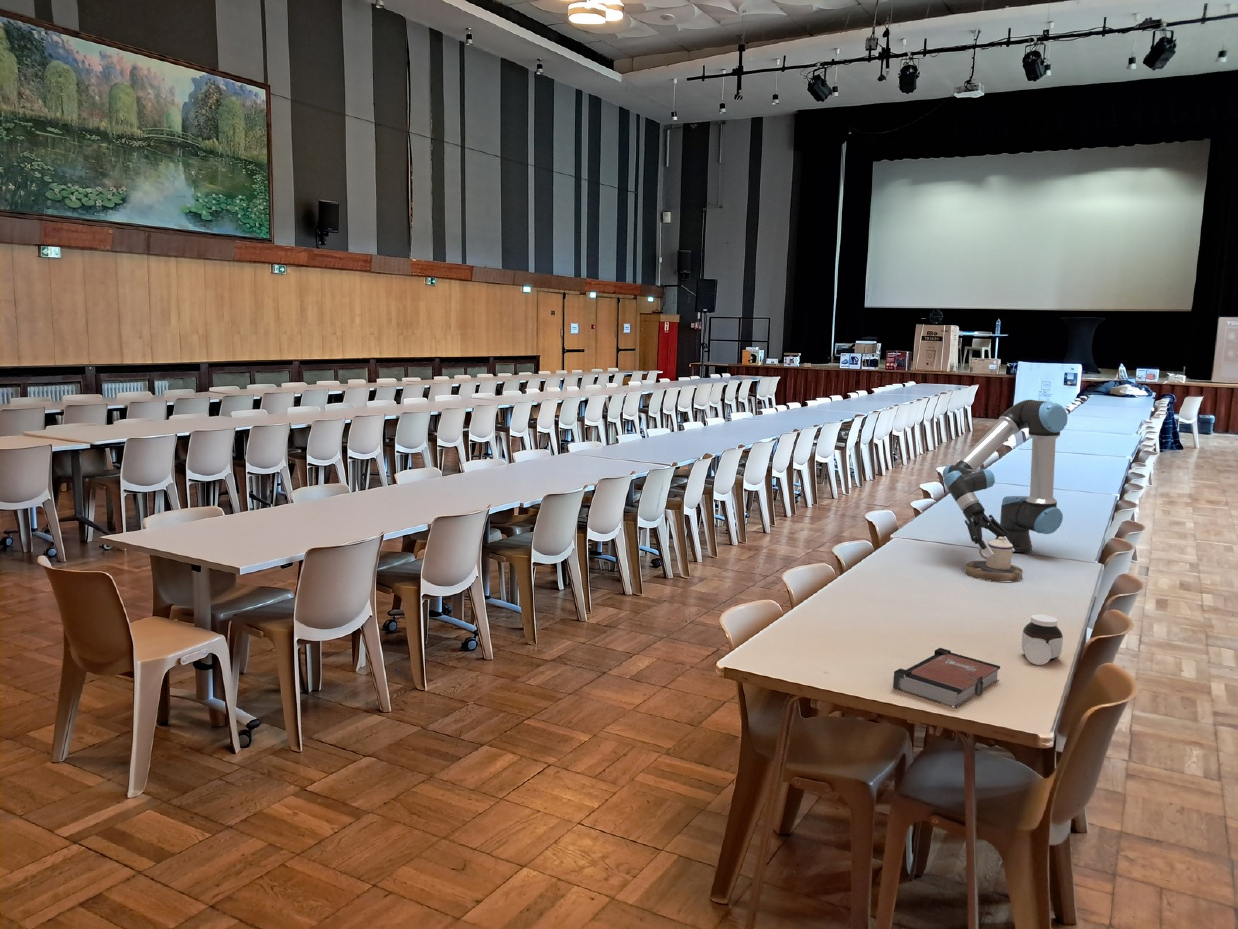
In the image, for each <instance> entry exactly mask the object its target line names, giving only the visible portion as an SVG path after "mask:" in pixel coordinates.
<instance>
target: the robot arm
mask: <svg viewBox="0 0 1238 929" xmlns="http://www.w3.org/2000/svg"><path fill="white" fill-rule="evenodd" d="M1067 425H1068V413H1067V411H1066V409H1065V408H1064V407H1063V405H1062V404H1059V403H1057V402H1052V401H1047V400H1045V401H1044V400H1035V399H1024V400H1022V401H1019V402H1017V403H1015V404H1014V405H1012V406H1011V407H1008V408H1007V410H1006V411H1004V412H1003V414H1001V415H1000V416H999V417H998V422H997V423H995V425H993V426H992V427H991V429H990V430H988V432H986V433H985V434H984V436H983V437H982V438H980V440H978V441H977V442H976V444H974V446H973V447H971V449H969V450H968V451H967V453H966V454H964V455H963V456H962V457H961V458H960V459H959V461H957V463H955V464H948V465H946V466H945V467H944V468H943V471H942V478H943V483H944V486H945V488H946V489H947V491H948V492H949V493H950V495H951V497H952V498H953V500H954V501H955V503H956V504H957V506H958V507H959V509H960V510H961V511H962V514H963V515H964V517H965V518H966V519H965V520H964V523H965V525H966V527H967V530H968V533H969V537H970V540H971V542H972V543H974V544H975V545H977V544H978V546H979V548H980V547H981V551H983V554H985V557H988V558H989V557H991V556H992V555H993V554H994V553H993V552H992V550H991V549H990V547H989V546H988V542H987V541H986V539H985V538H984V539H983V530H982V529H986V530H988V531H990V532H991V533H992V534H993V535H995V536H996V537H995V539H994V540H996V539H998V537H1003V538H1004V540H1006V541H1007V542H1009V543H1011V544H1012V545H1013V548H1012V553H1013V552H1029V553H1031V552H1030V551H1032V552H1033V544H1032V539H1031V536H1030V531H1031V532H1035V533H1037V534H1044V535H1050V534H1053V533H1054V532H1056V531H1057V530H1058V529H1059V528H1060V527H1061V525H1062V522H1063V519H1064V514H1063V511H1061V509H1060V508H1058V507H1057V505H1058V504H1057V503H1058V501H1057V500H1056V498H1055V497H1054V485H1055V484H1054V483H1055V482H1054V481H1055V461H1056V458H1055V457H1056V440H1057V439H1058V437H1060V436H1061V432H1062V431H1063V430H1065V427H1066V426H1067ZM1023 429H1028V436H1029V437H1030V438H1031V439H1032V441H1031V442H1032V443H1031V461H1030V462H1031V467H1030V489H1029V495H1028V496H1027V495H1025V496H1024V495H1010V496H1009V495H1008V496H1004V497H1003V498H1002V501H1001V509H1000V520H999V521H1000V522H998V521H997V520H996V519H995V517H994V516H993V515H992V514H989V515H986V514H985V508H984V506H983V505H982V503H981V502H980V500H979V498H978V497H977V496H976V494H975V492H978V491H982V490H986V489H987V490H988V488H991V487H993V486H994V485H995V482H996V478H995V475H994V473H993V472H992V470H990V469H988V468H985V469H980V470H978V469H979V468H980V467H981V466H982V465H983V464H984V463H985V462H986V461H987V460H988V459H989V458H990V457H991V456H992V455H993V454H994V453H996V451H997V450H998V449H999V448H1000V447H1001V446H1003V445H1004V443H1005V442H1006V441H1007V440H1008V439H1009V438H1011V436H1012V435H1016V434H1018V433H1020V431H1021V430H1023Z"/></svg>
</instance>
